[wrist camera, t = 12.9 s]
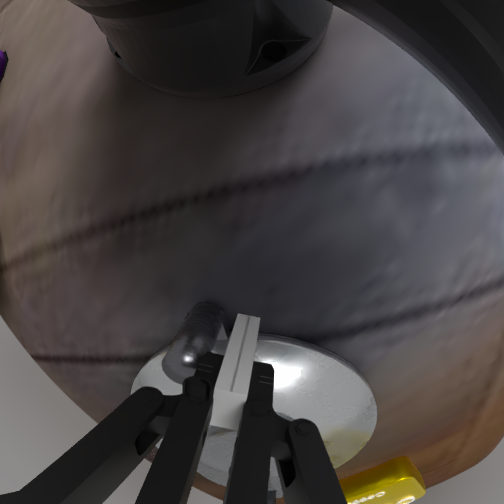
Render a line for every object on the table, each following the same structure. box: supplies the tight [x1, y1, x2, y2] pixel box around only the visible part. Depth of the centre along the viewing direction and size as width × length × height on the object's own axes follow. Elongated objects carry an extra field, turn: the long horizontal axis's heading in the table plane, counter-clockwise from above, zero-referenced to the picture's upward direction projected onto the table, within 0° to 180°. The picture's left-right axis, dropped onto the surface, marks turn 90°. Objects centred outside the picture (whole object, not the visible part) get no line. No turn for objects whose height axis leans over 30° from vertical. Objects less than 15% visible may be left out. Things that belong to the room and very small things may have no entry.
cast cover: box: [197, 411, 295, 491], centre depth 20 cm, size 10×10×4 cm
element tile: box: [339, 456, 426, 504], centre depth 26 cm, size 15×15×5 cm
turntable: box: [131, 302, 377, 472], centre depth 20 cm, size 27×24×6 cm
